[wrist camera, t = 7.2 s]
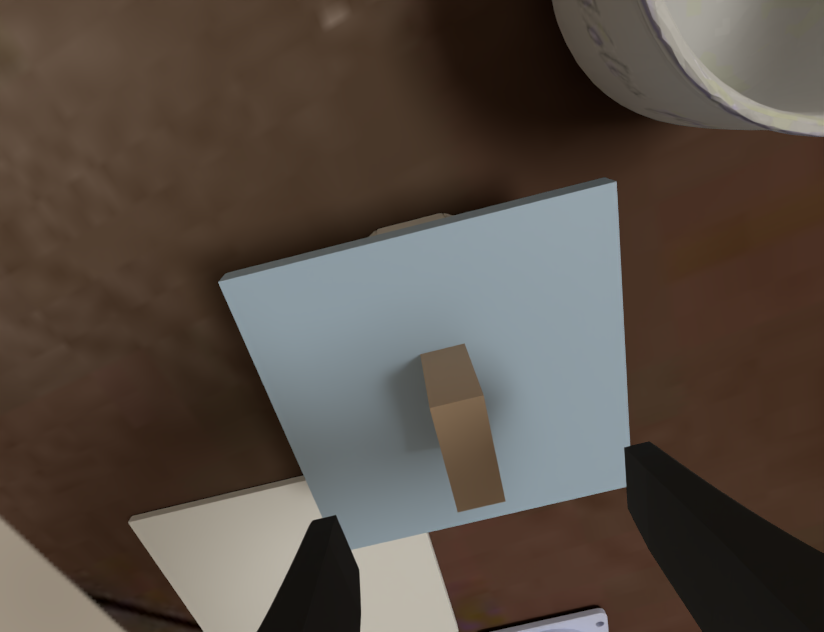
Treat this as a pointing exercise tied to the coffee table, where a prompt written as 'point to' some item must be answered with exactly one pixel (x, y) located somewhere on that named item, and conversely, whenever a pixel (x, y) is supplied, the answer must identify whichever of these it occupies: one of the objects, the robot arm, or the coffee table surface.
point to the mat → (282, 561)
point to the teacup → (705, 59)
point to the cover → (449, 363)
